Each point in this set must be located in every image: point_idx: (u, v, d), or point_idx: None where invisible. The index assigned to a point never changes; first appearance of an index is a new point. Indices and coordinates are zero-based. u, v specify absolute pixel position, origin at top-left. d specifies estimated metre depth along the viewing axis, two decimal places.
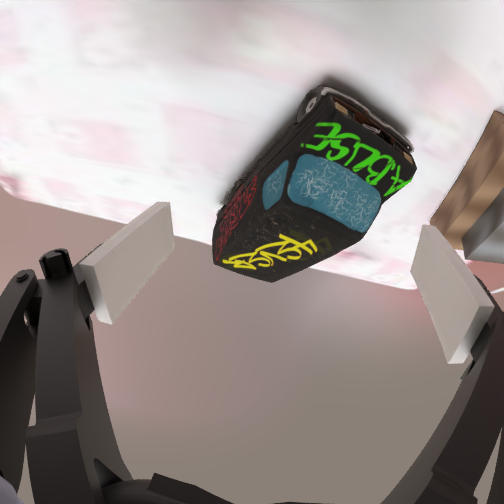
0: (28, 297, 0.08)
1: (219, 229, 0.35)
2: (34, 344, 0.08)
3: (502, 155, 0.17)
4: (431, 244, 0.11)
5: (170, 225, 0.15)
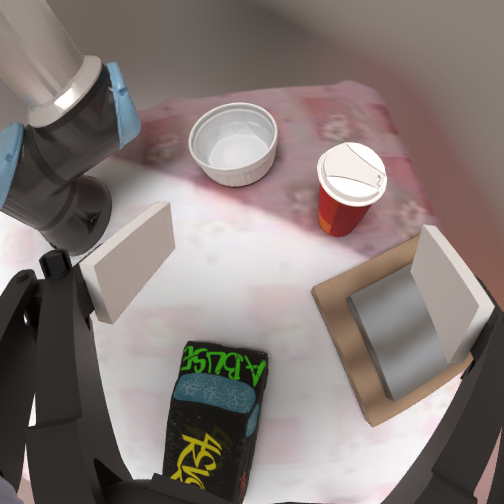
0: (28, 297, 0.08)
1: None
2: (34, 344, 0.08)
3: (321, 302, 0.34)
4: (431, 244, 0.11)
5: (170, 225, 0.15)
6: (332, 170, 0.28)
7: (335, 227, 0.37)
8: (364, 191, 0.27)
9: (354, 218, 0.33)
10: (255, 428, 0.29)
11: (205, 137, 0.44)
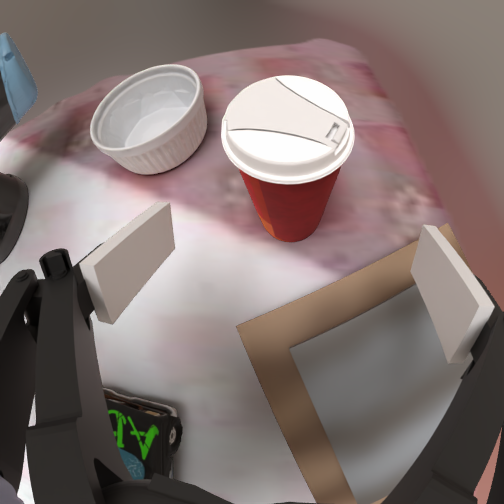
0: (28, 297, 0.08)
1: None
2: (34, 344, 0.08)
3: (248, 352, 0.21)
4: (430, 244, 0.11)
5: (170, 225, 0.15)
6: (241, 120, 0.15)
7: (278, 226, 0.23)
8: (302, 152, 0.13)
9: (301, 210, 0.19)
10: None
11: (121, 114, 0.30)
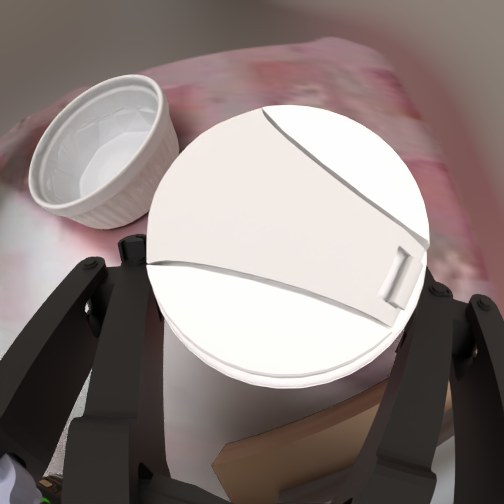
0: (93, 288, 0.09)
1: None
2: (92, 337, 0.08)
3: (228, 492, 0.13)
4: None
5: None
6: (175, 234, 0.07)
7: None
8: (316, 347, 0.05)
9: None
10: None
11: (72, 143, 0.23)
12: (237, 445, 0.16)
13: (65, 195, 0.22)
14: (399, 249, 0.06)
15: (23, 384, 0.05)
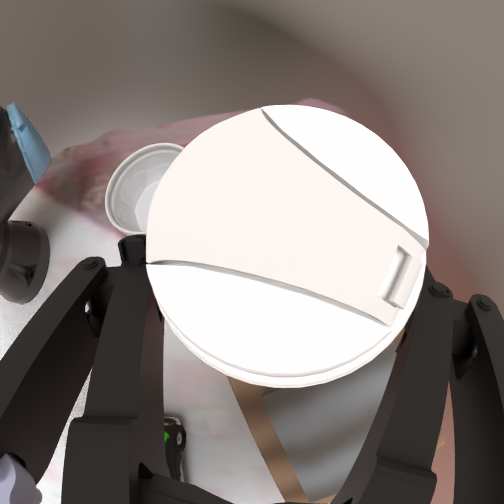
0: (93, 288, 0.09)
1: None
2: (92, 337, 0.08)
3: (235, 393, 0.29)
4: None
5: None
6: (175, 233, 0.07)
7: None
8: (315, 346, 0.05)
9: None
10: None
11: (129, 184, 0.38)
12: None
13: (128, 221, 0.37)
14: (398, 248, 0.06)
15: (23, 384, 0.05)
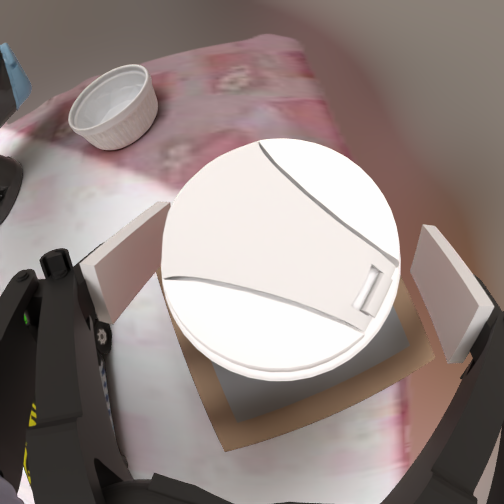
0: (28, 297, 0.08)
1: None
2: (34, 344, 0.08)
3: None
4: (430, 244, 0.11)
5: None
6: (186, 254, 0.08)
7: None
8: (301, 347, 0.07)
9: None
10: None
11: (94, 105, 0.36)
12: None
13: None
14: (373, 266, 0.08)
15: None
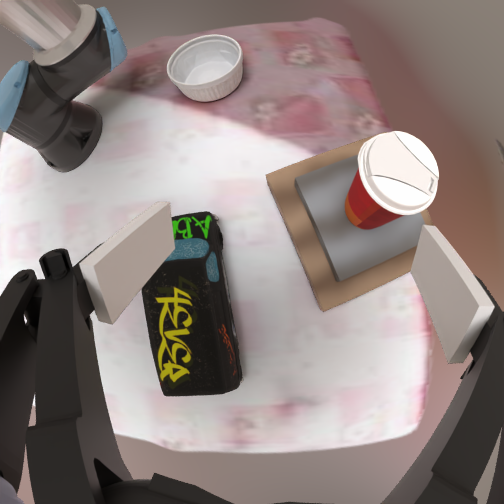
0: (28, 297, 0.08)
1: None
2: (34, 344, 0.08)
3: (272, 187, 0.39)
4: (430, 244, 0.11)
5: (170, 225, 0.15)
6: (378, 168, 0.21)
7: (367, 223, 0.30)
8: (415, 198, 0.20)
9: (392, 219, 0.26)
10: (219, 277, 0.37)
11: (183, 63, 0.45)
12: None
13: None
14: (430, 178, 0.21)
15: None
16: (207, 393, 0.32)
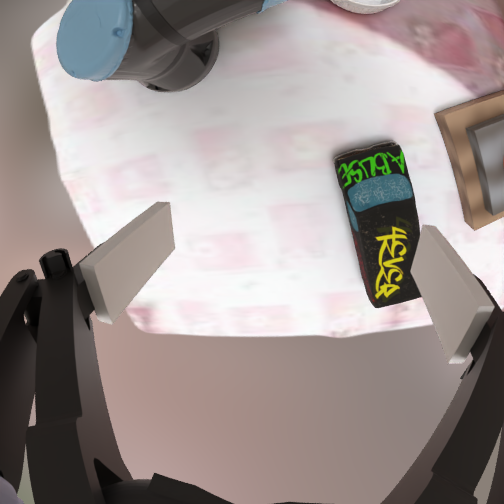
0: (28, 297, 0.08)
1: (365, 285, 0.45)
2: (34, 344, 0.08)
3: (449, 128, 0.32)
4: (431, 244, 0.11)
5: (170, 225, 0.15)
6: None
7: None
8: None
9: None
10: None
11: None
12: (442, 112, 0.34)
13: None
14: None
15: None
16: (410, 299, 0.41)
